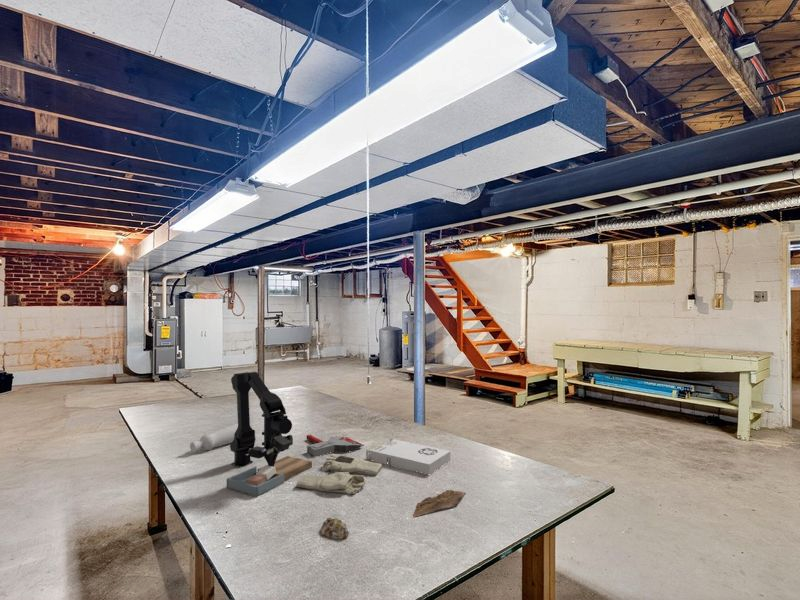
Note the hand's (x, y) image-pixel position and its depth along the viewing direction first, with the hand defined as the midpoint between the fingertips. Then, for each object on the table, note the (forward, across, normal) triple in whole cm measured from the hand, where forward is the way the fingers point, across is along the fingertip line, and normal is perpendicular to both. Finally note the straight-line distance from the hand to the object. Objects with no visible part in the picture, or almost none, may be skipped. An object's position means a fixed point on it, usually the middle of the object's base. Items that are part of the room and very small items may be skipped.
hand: (271, 468), depth 163 cm
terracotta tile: (+3, -8, 0) cm, 9 cm away
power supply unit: (+5, +42, -40) cm, 58 cm away
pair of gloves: (+5, +13, -25) cm, 29 cm away
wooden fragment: (+4, +11, -68) cm, 69 cm away
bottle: (+4, +17, +52) cm, 55 cm away
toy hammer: (+5, +41, +5) cm, 42 cm away
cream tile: (+2, -3, 0) cm, 3 cm away
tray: (+4, -8, 0) cm, 9 cm away
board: (+4, +8, 0) cm, 9 cm away
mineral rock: (+4, -20, -47) cm, 52 cm away
